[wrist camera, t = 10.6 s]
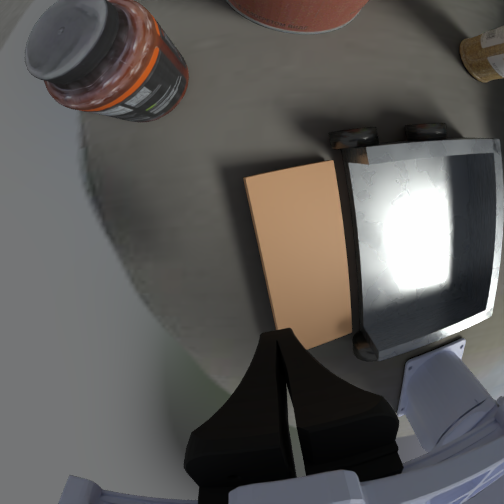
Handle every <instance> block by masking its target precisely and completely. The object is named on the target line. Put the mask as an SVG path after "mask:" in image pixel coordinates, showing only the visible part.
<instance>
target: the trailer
mask: <svg viewBox="0 0 504 504" xmlns="http://www.w3.org/2000/svg"><path fill="white" fill-rule="evenodd" d="M405 129H406V135H407V140H411V141H399V142H389V143H379V140H378V134H377V129H376V127H367V128H357V129H349V130H342V131H336V132H330V133H329V137H330V142H331V148H332V149H341V150H342V156H343V162H344V168H345V174H346V180H347V186H348V193H349V200H350V208H351V216H352V224H353V233H354V242H355V253H356V264H357V278H358V294H359V316H360V331H359V332H357V333H356V334H355V336H354V337H353V353H354V355H355V356H356V357H357V358H358V359H360V360H363V361H377V360H378V361H382V360H385V359H388V358H391V357H394V356H397V355H400V354H403V353H405V352H408V351H411V350H414V349H417V348H419V347H422V346H425V345H427V344H430V343H432V342H435V341H437V340H440V339H442V338H445V337H447V336H449V335H452V334H454V333H456V332H459V331H461V330H463V329H465V328H468V327H470V326H472V325H474V324H476V323H478V322H480V321H482V320H485V319H487V318H489V317H491V315H492V310H493V305H494V300H495V294H496V288H497V282H498V275H499V267H500V259H501V248H502V235H503V207H504V198H503V170H502V157H501V147H500V139H490V138H448V137H447V130H446V124H445V123H432V124H415V125H406V126H405Z"/></svg>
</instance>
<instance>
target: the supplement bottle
mask: <svg viewBox="0 0 504 504" xmlns="http://www.w3.org/2000/svg"><path fill="white" fill-rule="evenodd" d="M25 63H26V66H27V69H28V71H29V72H30V73H31V74H32V75H33V76H34V77H36V78H38V79H41V80H44V82H45V85H46V88H47V90H48V92H49V93H50V95H51V96H52V97H53V98H54V99H55V100H56V101H57V102H58V103H59V104H61V105H63V106H65V107H68V108H71V109H75V110H81V111H85V112H90V113H96V114H101V115H106V116H111V117H115V118H120V119H124V120H128V121H134V122H149V121H153V120H157V119H159V118H161V117H163V116H165V115H166V114H168V113H169V112H171V111H172V110H173V109H174V108H175V107H176V106H177V105H178V104H179V102H180V101H181V99H182V98H183V96H184V94H185V92H186V89H187V86H188V79H189V75H188V67H187V65H186V62H185V61H184V58H183V57H182V55H181V54H180V52H179V51H178V50H177V48H176V47H175V46H174V44H173V43H172V41H171V40H170V39H169V37H168V36H167V34H166V33H165V32H164V30H163V29H162V28H161V26H160V25H159V24H158V22H157V21H156V20H155V19H154V17H153V16H152V15H151V14H150V12H149V11H148V10H147V9H146V8H145V7H143V6H142V5H141V4H139V3H138V2H136V1H133V0H58V1H57V2H56V3H54V4H53V5H52V6H51V7H49V8H48V10H47V11H46V12H45V13H44V14H43V15H42V16H41V17H40V18H39V20H38V21H37V22H36V24H35V25H34V27H33V29H32V31H31V33H30V35H29V38H28V41H27V44H26V49H25Z"/></svg>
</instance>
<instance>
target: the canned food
mask: <svg viewBox="0 0 504 504" xmlns="http://www.w3.org/2000/svg"><path fill="white" fill-rule="evenodd" d="M226 1H227V2H228V4H229V5H230V6H231V7H232V8H233V9H234V10H235V11H237V12H238V13H239V14H241V15H242V16H244V17H245V18H247V19H249V20H250V21H252V22H254V23H257V24H259V25H261V26H264V27H267V28H270V29H273V30H277V31H281V32H286V33H293V34H319V33H325V32H330V31H334V30H336V29H339V28H341V27H343V26H345V25H347V24H348V23H350V22H351V21H352V20H353V19H354V18H355V17H356V16H357V15H358V14H359V12H360V11H361V9H362V7H363V6H364V5H365V4H366V3H367V2H368V1H369V0H226Z"/></svg>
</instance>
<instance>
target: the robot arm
mask: <svg viewBox="0 0 504 504" xmlns="http://www.w3.org/2000/svg"><path fill="white" fill-rule="evenodd" d="M465 342H466V340H465V339H464V338H461V339H459V340H457V341H454V342H452V343H450V344H447V345H445V346H443V347H440V348H438V349H436V350H433V351H431V352H428V353H425V354H423V355H420V356H418V357H415V358H412V359H410V360H408V361H407V362H406V364H405V371H404V378H403V384H402V390H401V395H400V401H399V406H398V411H397V415H398V416H403V415H406V417H407V419H408V421H409V422H410V424H411V426H412V428H413V430H414V432H415V434H416V436H417V438H418V440H419V442H420V444H421V446H422V448H423V449H424V450H425V451H426V452H428V453H427V454H425V455H422V456H420V457H418V458H415V459H413V460H410V461H408V462H405V463H403V464H402V462H401V460H400V457H399V455H398V452H397V451H398V446H397V444H396V441H395V439H396V435H397V432H398V428H399V420H398V417H397V415H396V413H395V412H394V410H393V409H392V407H391V406H390V405H389V403H388V402H387V401H386V400H385V399H384V397H382V396H379V395H376V394H373V393H370V392H367V391H364V390H362V389H360V388H357V387H355V386H353V385H352V384H350V383H348V382H346V381H344V380H343V379H341V378H339V377H338V376H336V375H335V374H333V373H332V372H330V371H329V370H328V369H326V368H325V367H324V366H323V365H322V364H320V363H319V362H318V361H317V360H316V359H315V358H314V357H313V356H312V355H311V354H310V353H309V352H308V351H307V350H306V349H305V347H304V346H303V345H302V344H301V343H300V341H299V340H298V339H297V337H296V336H295V334H294V332H293V330H292V329H291V328H285V329H280V330H275V331H270V332H265V333H262V334H261V335H260V339H259V343H258V346H257V349H256V352H255V354H254V357H253V359H252V362H251V364H250V366H249V368H248V370H247V372H246V374H245V376H244V377H243V379H242V381H241V382H240V384H239V385H238V387H237V388H236V390H235V391H234V393H233V394H232V395H231V396H230V398H229V399H228V400H227V402H226V403H225V404H224V405H223V406H222V407H221V408H220V409H219V410H218V411H217V412H216V413H215V414H214V415H213V416H212V417H211V418H210V419H209V420H208V421H206V422H205V423H204V424H202V425H201V426H200V427H198V428H197V429H196V430H194V431H193V432H192V433H191V435H190V439H189V441H188V444H187V448H186V453H185V459H184V469H185V471H186V472H187V473H188V474H189V476H190V477H191V478H192V479H193V480H194V481H195V482H196V484H197V485H198V486H199V496H198V500H177V499H164V498H153V497H145V496H137V495H130V494H124V493H118V492H113V491H107V490H103V489H101V487H99V486H98V485H97V484H96V483H94V482H93V481H91V480H88V479H85V478H81V477H77V476H73V475H70V476H69V477H68V480H67V483H66V485H65V488H64V490H63V493H62V495H61V498H60V500H59V503H58V504H504V397H502V396H500V397H499V398H498V399H497V401H496V400H494V399H493V398H492V397H491V396H490V394H489V393H488V392H487V390H486V389H485V388H484V387H483V385H482V384H481V383H480V382H479V381H478V379H477V378H476V377H475V376H474V375H473V373H472V372H471V371H470V370H469V369H468V367H467V366H466V365H465V364H464V363H463V362H462V360H461V358H462V354H463V350H464V346H465ZM286 383H287V387H288V390H289V394H290V397H291V400H292V404H293V407H294V413H295V419H296V426H297V430H298V436H299V441H300V445H301V450H302V455H303V460H304V465H305V472H306V476H303V477H298V478H297V476H296V470H295V464H294V458H293V453H292V445H291V439H290V433H289V424H288V407H287V388H286Z"/></svg>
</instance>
